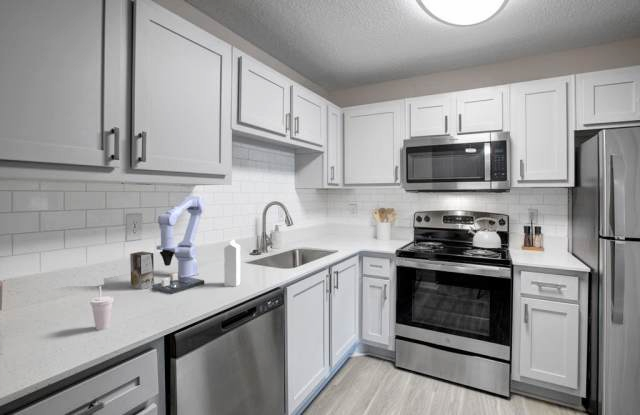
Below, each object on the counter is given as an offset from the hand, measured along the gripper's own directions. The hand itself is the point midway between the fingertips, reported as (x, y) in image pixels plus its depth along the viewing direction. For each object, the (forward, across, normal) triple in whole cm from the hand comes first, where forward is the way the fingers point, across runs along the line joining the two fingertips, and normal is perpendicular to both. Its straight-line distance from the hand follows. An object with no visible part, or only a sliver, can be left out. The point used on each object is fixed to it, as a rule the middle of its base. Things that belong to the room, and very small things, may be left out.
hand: (167, 265), depth 160 cm
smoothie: (+9, +29, -44) cm, 53 cm away
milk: (+9, +29, +15) cm, 34 cm away
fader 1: (+7, +10, -8) cm, 14 cm away
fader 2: (+7, +5, 0) cm, 8 cm away
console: (+9, +10, -1) cm, 13 cm away
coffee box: (+9, -5, -10) cm, 14 cm away
